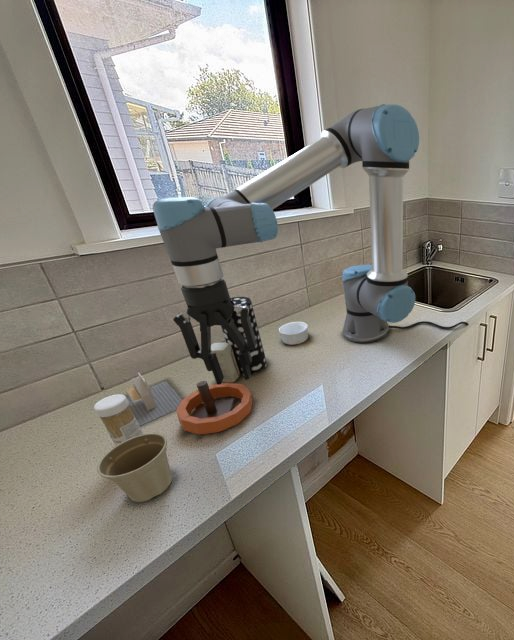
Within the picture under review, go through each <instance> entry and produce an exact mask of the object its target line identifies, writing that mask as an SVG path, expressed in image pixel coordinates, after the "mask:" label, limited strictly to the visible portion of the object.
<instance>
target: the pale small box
mask: <svg viewBox="0 0 514 640" xmlns="http://www.w3.org/2000/svg"><path fill="white" fill-rule="evenodd" d="M211 350H212V351H211V354H212V353H216V356H217V359H218V362H219V364H220V367H221V370H222V373H223V376H224V378H223V381H222V383H235V382H236V381H237V380H238V379H239V377H240V376H241V375H240V372H239V369H238V366H237V363H236V360H235V357H234V354H233V351H232V347H231V344H229V343H226V341H222V342H221V341H220V342H219V341H218V342H212V343H211ZM211 372H212V376H213V378H214V381H215V382H216V379H215V377H214V374H213V371H211Z"/></svg>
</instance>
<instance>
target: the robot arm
mask: <svg viewBox="0 0 514 640" xmlns="http://www.w3.org/2000/svg"><path fill="white" fill-rule="evenodd" d="M419 146H420V131H419V128H418V124H417V122H416V120H415V118H414V117H413V116H412V115H411V112H410V111H409V110H407V109H406V108H405V107H404V106H402V105H399V104H384V103H383V104H380V105H377V106H372V107H371V106H370V107H365V108H360V109H359V108H358V109H357V110H354V111H352V112H350V113H348V114H347V115H345V116H344V117H342V118H340V120H338V121H336V122H335V123H334V124H332V125H331V126H329V127H328V128H326V129H325V130H323V131H322V132H321V134H320V138H318V139H317V140H315V141H314V142H311V143H310V144H308V145H307V146H304V147H303V148H302V149H300V150H298V151H297V152H295V153H294V154H292V155H290V156H288V157H286V158H285V159H283V160H282V161H280V162H278V163H276V164H275V165H273V166H272V167H270V168H268V169H267V170H265V171H263V172H262V173H260V174H258V175H256V176H255V177H253V178H252V179H250V180H248V181H246V182H245V183H243V184H241V185H240V186H238V187H236V188H235V189H234V190H232V191H230V192H228V193H227V194H224V195H223V196H218V197H217V196H216V197H214V198H211V199H210V200H209V201H207V203H206V205H204V204H203V202H202V200H201V199H200V198H198V197H194V196H185V197H167V198H161V199H158V200H155V201H154V202H153V203H152V211H153V215H154V218H155V221H156V225H157V228H158V231H159V235H160V236H161V240H162V241H163V244H164V247H165V249H166V252H167V254H168V257H169V260H170V263H171V265H172V269H173V272H174V274H175V277H176V280H177V283H178V285H180V286H181V287H180V291H181V293H182V296H183V299H184V302H185V304H186V306H187V307H186V311H184V312H182V311H179V312H177V314H176V315H175V316H174V317H173V322H174V323H175V324H176V325H177V326H178V327H179V329H180V332H181V335H182V337H183V339H184V342H185V345H186V348H187V351H188V354H189V356H190V358H191V359H193V360H195V359H201V360H202V361H203V363H204V366H205V368H206V371H208V372H212V371H213V373H212V375H213V374H214V375H213V378H214V377H215V378H214V380H215V379H216V381H215V383H216V384H217V385H219V384H221V383H223V382H222V381H223V378H224V376H223V373H222V370H221V367H220V364H219V362H218V359H217V356H216V353H212V354H211V351H212V350H211V345H212V333H211V332H212V328H211V327H214V326H220V327H221V326H222V327H223V328H224V329H225V330H226V331H227V333H228V334H229V335H230V337H231V338H232V340H233V341H234V343H235V344H236V346H237V347H238V349H239V350H240V351H239V354H238V357H239V361H240V364H241V367H242V370H243V373H244V376H243V377H244V380H245V381H248V380H250V377H251V375H250V374H251V371H250V368H249V365H251V361H252V358H251V354H250V350H254V349H255V347H256V343H257V342H256V338H255V335H254V331H253V328H252V325H251V321H250V318H249V308H250V307H249V305H247V304H245V305H244V306H240V305H235V304H234V302H233V301H232V300H231V299H230V298H231V296H230V292H229V289H228V285H227V282H226V280H225V279H224V273H223V269H222V266H221V262H220V259H219V256H218V253H217V249H221V248H222V249H223V248H227V247H235V246H243V245H248V244H254V243H255V244H256V243H263V242H266V241H267V242H268V241H270V240H275V239H276V238H277V236H278V233H279V224H278V220H277V217H276V214H275V212H274V209H276V208H277V207H279V206H281V205H282V204H283V203H285V202H286V201H288V200H290V199H292V198H293V197H295V196H296V195H298V194H299V193H301V192H302V191H304V190H306V189H307V188H308V187H310V186H311V185H313V184H315V183H317V182H318V181H319V180H321V179H322V178H324V177H326V176H328V174H330V173H332V172H334V171H335V170H337V169H338V168H339V169H346V168H348V167H349V166H351V165H352V164H355V163H358V162H361V168H362V170H364V172H365V174H367V175H368V185H369V188H368V189H369V217H370V218H369V219H370V221H369V222H370V251H371V252H370V253H371V255H370V256H371V264H370V263H368V264H359V265H353V266H349V267H347V268H345V269H344V270H343V271H342V281H341V282H342V285H343V293H344V302H345V308H346V309H345V310H346V314H345V319H344V323H343V328H342V332H343V337H344V339H346V340H347V341H350V342H354V343H361V344H364V343H372V342H377V341H380V340H382V339H384V338H385V337H386V336H387V335H388V334H389V331H390V329H399V330H407V329H410V328H413V327H416V326H418V325H420V324H427V325H432V326H434V327H437V328H439V329H442V330H450V329H451V330H452V329H454V328H457V327H458V326H460V325H462V324H463V325H465V326H469V323H468V322H466V321H460V322H457V323H456V324H453V325H451V326H443V325H439V324H438V323H434V322H432V321H425V320H423V321H417V322H415V323H412V324H410V325H407V326H399V325H389V323H390V324H396V323H399V322H402V321H403V320H405V319H406V318H408V316H409V314H410V313H411V312H413V310H414V307H415V304H416V293H415V291H414V290H413V289H412V288H411V286H409V284H408V283H409V274H408V272H407V271H406V270H404V268H403V265H404V264H403V261H404V259H403V258H404V257H403V256H404V253H403V252H404V251H403V247H404V246H403V245H404V243H403V242H404V241H403V240H404V237H403V236H404V177H405V175H406V174H407V173H408V172H409V171H410V160H412V159H413V158H414V156H415V154H416V153H417V152H418V150H419ZM233 311H236V312H237V315H238V316H241V317H240V319H241V324H242V327H243V330H244V333H245V337H246V340H247V342H246V341H245V339H244V338H243V336H242V335H241V333H240V332H239V330H238V329H237V327H236V325H235V324H234V322H233V319H232V318H231V315H232V313H233ZM192 319H193V320H195V321H196V322H197V323H199V332H200V344H199V341H198V339H197V336H196V333H195V330H194V327H193V325H192V322H191V320H192Z"/></svg>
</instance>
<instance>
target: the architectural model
mask: <svg viewBox="0 0 514 640" xmlns="http://www.w3.org/2000/svg"><path fill="white" fill-rule="evenodd" d="M137 375H138V376H135V375H134V377H133V378H131V381H132V383H133V384H132V387H129V388H126V389H125V391H126V393H127V394H128V395H127V396H125V397H126V399H127V400H128V402H129V407H130V409H131V411H132V413H133V415H134V416H135V418H136V420H137V422H138V424H139V426H140V427H141V426H143V425H146V424H148V423H149V422H152V421H154V420H155V419H159V418H161V417H162V416H163V417H164V416H165V415H167V414H169V413H171V412H174V411H175V410H177V408H178V406H179V405H180V403H181V401H182V400H183V399H182V398H181V397H180V395H178V394H177V392H176V391H175V390H174V389H173V387H172V386H171V385H170V384H169V383H168V382H167V380H165V381H162V382H159V383H157V384H155V385H152V386H150V387H149V385H148V382H147V381H146V380H145V378H144V377H143V376H142V374H141V373H140V372H137Z"/></svg>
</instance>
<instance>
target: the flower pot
mask: <svg viewBox="0 0 514 640" xmlns="http://www.w3.org/2000/svg"><path fill="white" fill-rule="evenodd" d="M167 446H168V439H167V437H166V436H165V435H164V434H162V433H159V432H149V433H143V434H142V435H138V436H136V437H133V438H130V439H128V440H126V441H124V442H122V443H120V444H118V445H117V446H115V445H114V447H112V448H111V449H109V450H108V451H107V452H106V453H105V454H104V455H103V456H102V458H101V459H100V460H99V462H98V463H97V466H96V472H97V474H98V475H99V477H102V478H104V479H107V480H109V481H111V482H112V483H114V485H116V486H117V487H118V488H119V489H120V490H121V491H122V492H123V493H124V494H125V495H126V496H127V497H128V498H129V499H130V500H131V501H133V502H135V503H143V502H148V501H150V500H151V499H153V498H154V497H156V496H160V495H161V494H162V493H164V492H165V491H166V490H167V489H168V488H169V487H170V485H171V483H172V481H173V474H172V470H171V467H170V463H169V459H168V454H167V448H168V447H167Z"/></svg>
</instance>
